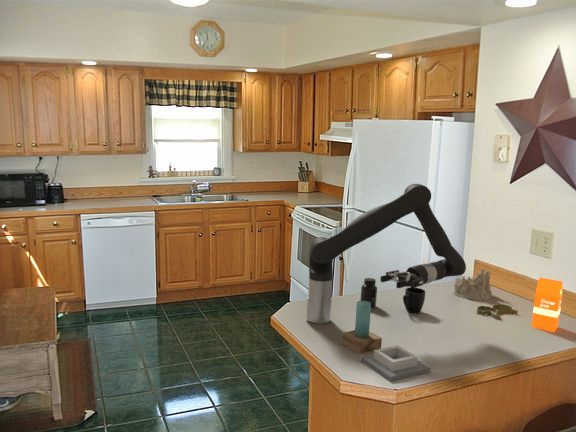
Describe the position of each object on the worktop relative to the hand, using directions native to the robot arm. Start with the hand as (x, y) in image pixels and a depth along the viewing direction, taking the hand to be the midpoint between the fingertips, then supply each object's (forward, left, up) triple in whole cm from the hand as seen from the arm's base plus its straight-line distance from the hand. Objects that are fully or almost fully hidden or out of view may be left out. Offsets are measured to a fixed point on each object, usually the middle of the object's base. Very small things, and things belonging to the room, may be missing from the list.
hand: (388, 282), depth 199 cm
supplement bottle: (-5, +37, -22) cm, 44 cm away
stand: (-9, -7, -22) cm, 25 cm away
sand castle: (+45, +65, -22) cm, 82 cm away
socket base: (+2, -22, -22) cm, 31 cm away
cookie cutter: (+50, +42, -23) cm, 69 cm away
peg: (-9, -7, -18) cm, 21 cm away
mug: (+13, +33, -22) cm, 42 cm away
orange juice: (+66, +29, -22) cm, 75 cm away
